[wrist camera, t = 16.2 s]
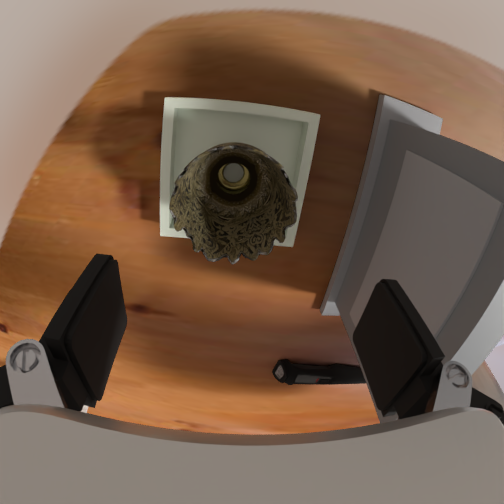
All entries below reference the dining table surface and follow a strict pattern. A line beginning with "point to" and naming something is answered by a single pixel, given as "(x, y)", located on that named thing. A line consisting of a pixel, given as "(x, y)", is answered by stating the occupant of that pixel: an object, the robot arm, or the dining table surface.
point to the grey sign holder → (426, 235)
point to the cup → (233, 203)
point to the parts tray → (234, 130)
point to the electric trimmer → (317, 374)
